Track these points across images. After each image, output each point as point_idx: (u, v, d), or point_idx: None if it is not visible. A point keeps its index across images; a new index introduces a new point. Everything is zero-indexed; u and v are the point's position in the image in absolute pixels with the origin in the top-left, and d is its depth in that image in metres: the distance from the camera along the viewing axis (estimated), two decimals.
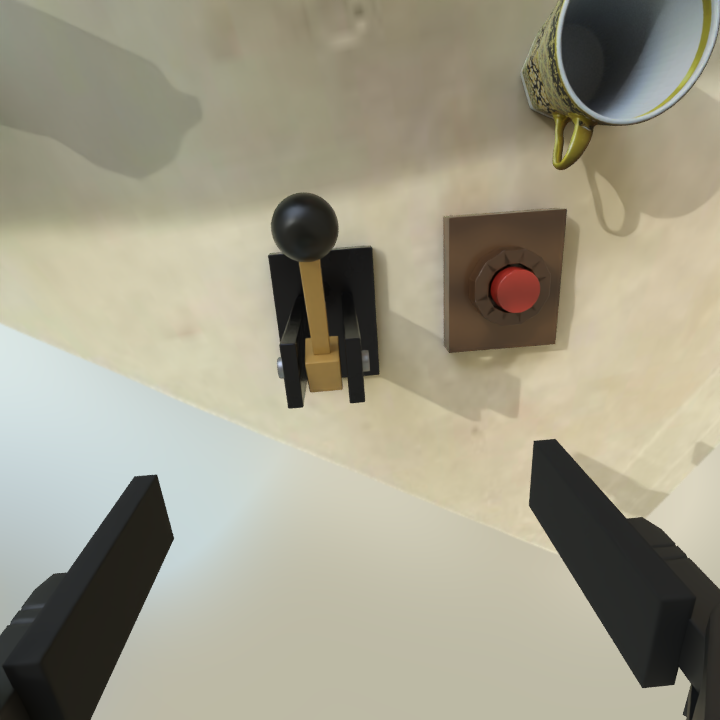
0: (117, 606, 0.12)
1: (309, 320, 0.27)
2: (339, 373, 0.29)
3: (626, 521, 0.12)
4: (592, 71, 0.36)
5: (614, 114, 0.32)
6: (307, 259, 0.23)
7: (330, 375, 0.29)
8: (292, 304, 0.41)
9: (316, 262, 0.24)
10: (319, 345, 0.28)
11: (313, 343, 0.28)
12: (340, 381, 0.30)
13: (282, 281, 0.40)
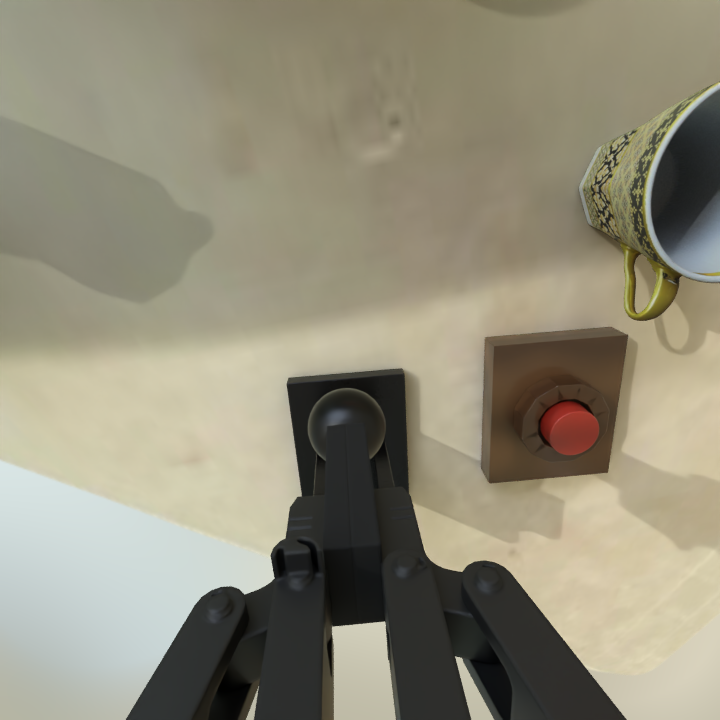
0: None
1: None
2: None
3: (371, 488, 0.14)
4: (662, 185, 0.31)
5: (697, 252, 0.27)
6: None
7: None
8: None
9: None
10: None
11: None
12: None
13: (302, 411, 0.35)
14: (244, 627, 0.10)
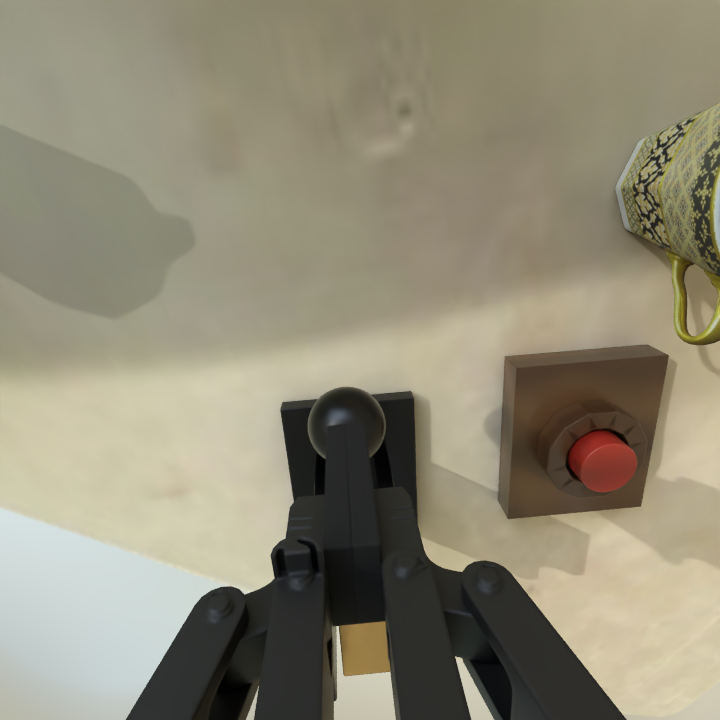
0: None
1: None
2: None
3: (371, 488, 0.14)
4: None
5: None
6: None
7: (374, 644, 0.20)
8: (310, 464, 0.32)
9: None
10: None
11: None
12: None
13: (298, 439, 0.31)
14: (244, 627, 0.10)
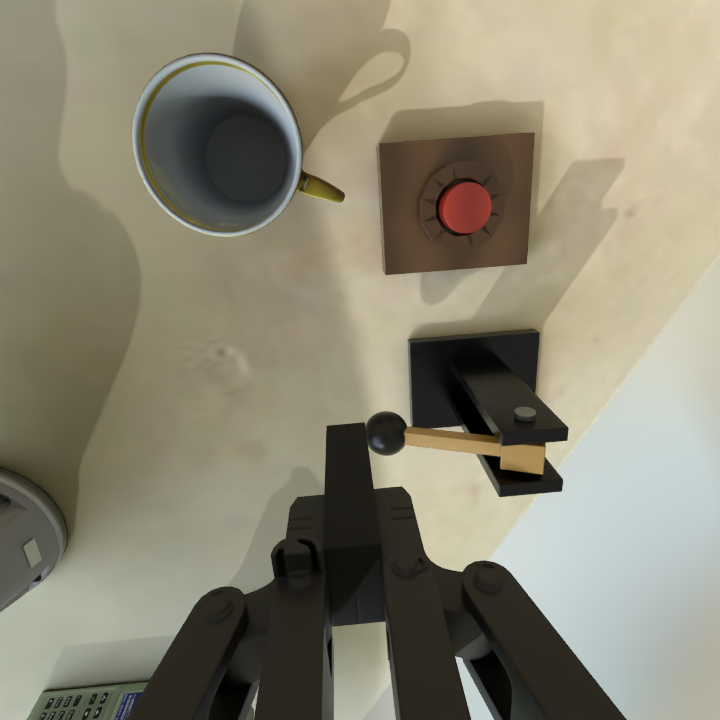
0: None
1: (459, 450, 0.33)
2: (519, 445, 0.31)
3: (371, 488, 0.14)
4: (244, 127, 0.35)
5: (287, 130, 0.30)
6: (392, 443, 0.34)
7: (521, 453, 0.31)
8: None
9: (406, 434, 0.34)
10: (489, 450, 0.32)
11: (486, 453, 0.32)
12: (531, 446, 0.30)
13: (436, 419, 0.44)
14: (244, 627, 0.10)
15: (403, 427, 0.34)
